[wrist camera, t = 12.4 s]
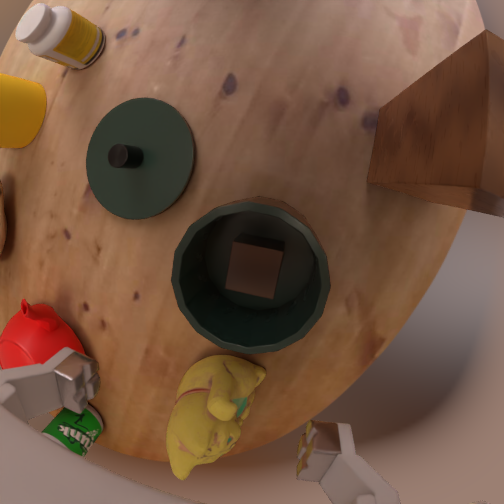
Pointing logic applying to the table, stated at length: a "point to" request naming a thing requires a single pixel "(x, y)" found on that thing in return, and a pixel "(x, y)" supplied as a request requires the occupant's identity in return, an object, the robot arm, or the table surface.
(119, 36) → the table surface
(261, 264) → the block
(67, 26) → the pill bottle
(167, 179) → the tin lid
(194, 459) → the figurine
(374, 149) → the stand
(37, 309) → the teapot
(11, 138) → the yellow cylinder with hole
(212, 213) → the tin
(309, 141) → the table surface
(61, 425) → the soda can
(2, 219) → the oil lamp
